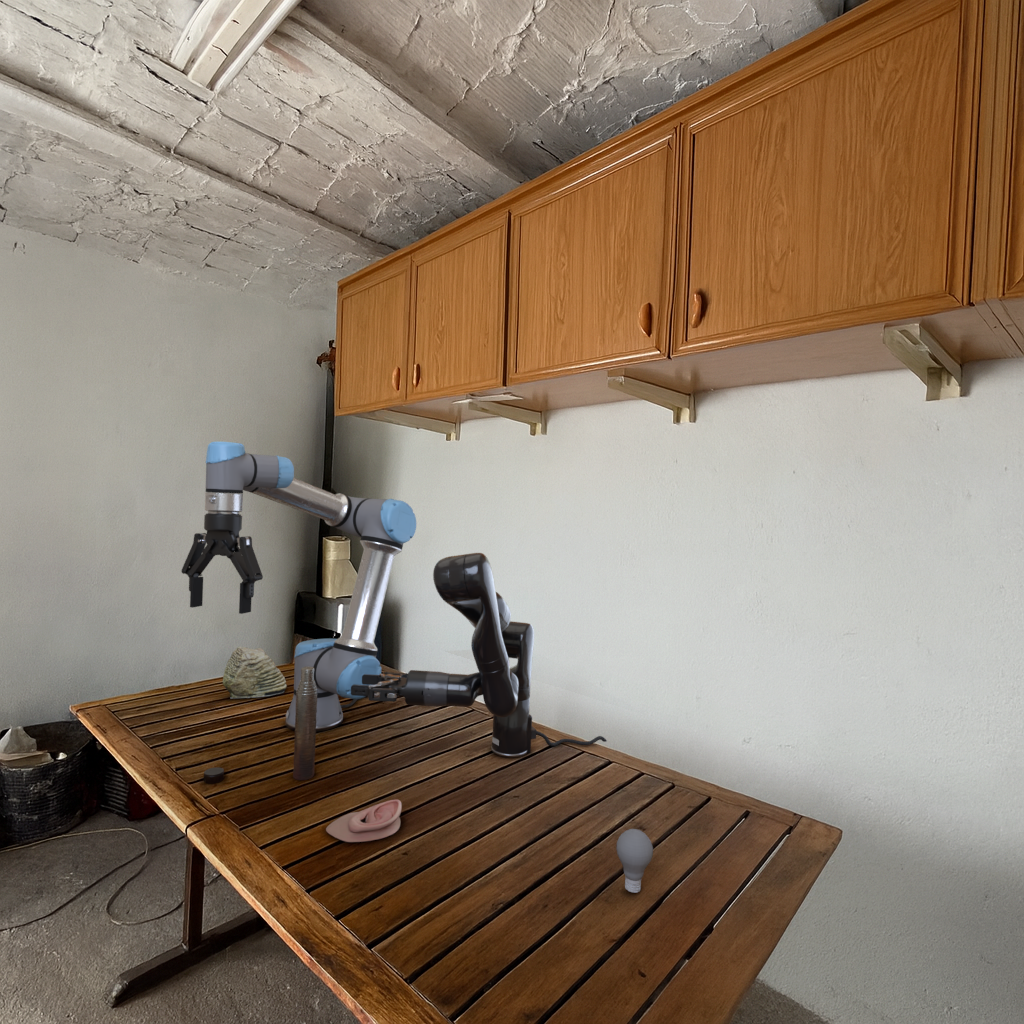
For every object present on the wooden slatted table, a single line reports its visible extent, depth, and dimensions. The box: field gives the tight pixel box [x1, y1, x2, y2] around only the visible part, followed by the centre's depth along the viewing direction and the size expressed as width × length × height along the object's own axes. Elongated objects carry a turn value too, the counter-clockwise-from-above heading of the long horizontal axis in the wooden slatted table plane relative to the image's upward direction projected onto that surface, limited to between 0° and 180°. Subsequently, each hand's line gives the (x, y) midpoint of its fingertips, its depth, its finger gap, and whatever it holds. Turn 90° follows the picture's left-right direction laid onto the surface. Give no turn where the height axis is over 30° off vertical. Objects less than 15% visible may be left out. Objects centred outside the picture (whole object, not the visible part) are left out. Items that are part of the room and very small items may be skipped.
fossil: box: [222, 646, 288, 699], centre depth 198 cm, size 9×18×15 cm, turn 132°
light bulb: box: [615, 828, 654, 894], centre depth 106 cm, size 6×6×10 cm
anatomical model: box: [325, 799, 403, 843], centre depth 122 cm, size 13×4×12 cm
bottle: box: [292, 667, 317, 781], centre depth 143 cm, size 4×4×24 cm
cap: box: [203, 766, 225, 785], centre depth 139 cm, size 4×4×2 cm
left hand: (220, 609), depth 139 cm, fingers open, 13 cm apart
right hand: (356, 684), depth 142 cm, fingers open, 8 cm apart
